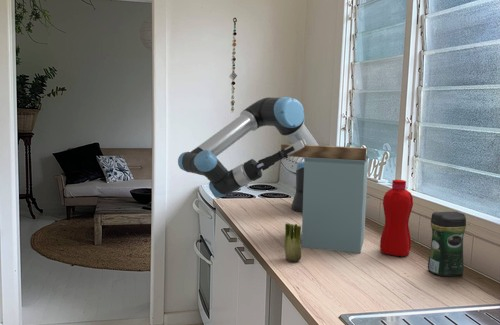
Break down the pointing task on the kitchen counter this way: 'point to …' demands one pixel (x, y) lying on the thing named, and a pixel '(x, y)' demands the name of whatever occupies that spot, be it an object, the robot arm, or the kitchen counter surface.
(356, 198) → the grey-blue storage bin
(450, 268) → the coffee jar
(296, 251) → the fennel bulb
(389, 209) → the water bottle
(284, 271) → the kitchen counter surface
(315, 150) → the walnut slat
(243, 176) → the robot arm
